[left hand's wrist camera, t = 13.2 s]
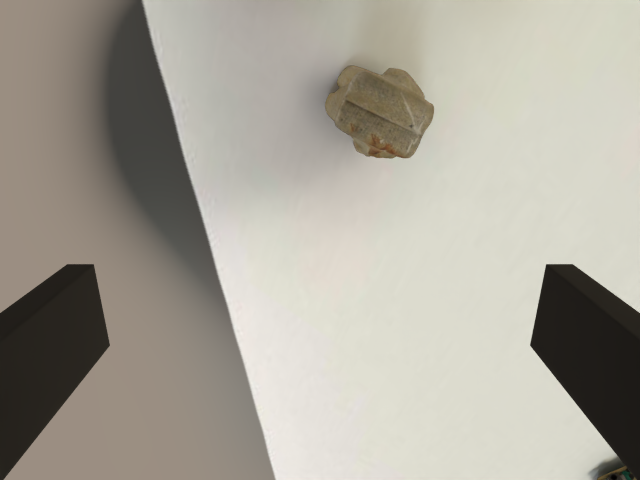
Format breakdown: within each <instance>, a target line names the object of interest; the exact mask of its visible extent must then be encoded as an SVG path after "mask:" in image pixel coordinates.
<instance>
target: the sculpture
mask: <svg viewBox="0 0 640 480" xmlns="http://www.w3.org/2000/svg"><path fill="white" fill-rule="evenodd" d="M337 84H338V86H339V89H338V90H337V91H336V92H334V93H330V94H329V96H328V98H327V100H326V103H325V108H326V112H327V114H328V115H329V116H330V117H331V118H332V119H333V120H334V121H335V125H336V126H337V127H338V128H339V129H340V130H342V131H343V132H345V133H346V134H348V135H350V136H351V137H352V138H353V142H354V146H355V149H356V151H357V152H359V153H362V154H364V155H366V156H373V157H376V158H394V157H396V156H397V157H401V158H410V157H411V156H412V155H413V154H414V153H415V151H416V149H417V147H418V145H419V143H420V140H421V138H422V136H423V134H424V132H425V130H426V129H427V128H428V126H429V125H430V123H431V121H432V119H433V114H434V107H433V104H431V103H429V102H428V101H426V100H425V99H424V94H423V92H422V91H421V89H420V88H419V86H418V85H417V84H416V82H415V81H414V80H413V78H412V77H411V76H410V75H409V74H408V73H407V72H405V71H403V70H400V69H394V68H389V69H388V70H387V71H386V72H385V73H384V74H383V75H379V74H376V73H373V72H371V71H368V70H366V69H363V68H360V67H356V66H348V67H347V68H345V69H344V70H343V72H342V73H341V74H340V76H339V77H338V81H337Z"/></svg>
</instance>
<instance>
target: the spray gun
mask: <svg viewBox="0 0 640 480" xmlns="http://www.w3.org/2000/svg"><path fill="white" fill-rule="evenodd" d="M627 469H628V468H627V467H626V466H624V467H622V468H619V469H617V470H615V471H612V472H610V473H608V474H605V475H603V476H601V477H599V478H598V479H597V480H604V479H606V478H608V479H609V480H636V478H635V477H634V476H633V474H632V473H631V472H627V471H625V470H627ZM620 472H622V475H621V474H620Z"/></svg>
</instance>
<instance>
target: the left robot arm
mask: <svg viewBox="0 0 640 480" xmlns="http://www.w3.org/2000/svg"><path fill="white" fill-rule="evenodd" d="M109 346H110V344H109V339H108V334H107V329H106V324H105V319H104V314H103V309H102V304H101V299H100V294H99V289H98V284H97V279H96V273H95V269H94V265H93V264H67V265H66V266H64V267H63V268H62V269H60V270H59V271H58V272H56V273H55V274H53V275H52V276H51V277H49V278H48V279H47V280H45V281H44V282H43V283H41V284H40V285H38V286H37V287H36V288H34V289H33V290H31V291H30V292H29V293H27V294H26V295H25V296H23V297H22V298H20V299H19V300H18V301H16V302H15V303H14V304H12V305H11V306H9V307H8V308H7V309H5V310H4V311H3V312H1V313H0V480H4V478H5V477H6V476H7V474H8V473H9V472H10V471H11V469H12V468H13V467H14V466H15V464H16V463H17V462H18V461H19V459H20V458H21V457H22V456H23V454H24V453H25V452H26V451H27V449H28V448H29V447H30V445H31V444H32V443H33V442H34V440H35V439H36V438H37V437H38V435H39V434H40V433H41V432H42V430H43V429H44V428H45V427H46V425H47V424H48V423H49V421H50V420H51V419H52V418H53V416H54V415H55V414H56V413H57V411H58V410H59V409H60V408H61V406H62V405H63V404H64V403H65V401H66V400H67V399H68V397H69V396H70V395H71V394H72V393H73V391H74V390H75V389H76V387H77V386H78V385H79V384H80V382H81V381H82V380H83V379H84V377H85V376H86V375H87V374H88V372H89V371H90V370H91V368H92V367H93V366H94V365H95V363H96V362H97V361H98V360H99V358H100V357H101V356H102V355H103V353H104V352H105V351H106V350H107V348H108V347H109ZM530 346H531V347H532V348H533V350H534V351H535V352H536V353H537V355H538V356H539V357H540V358H541V360H542V361H543V362H544V364H545V365H546V366H547V367H548V369H549V370H550V371H551V372H552V374H553V375H554V376H555V377H556V379H557V380H558V381H559V382H560V384H561V385H562V386H563V387H564V389H565V390H566V391H567V393H568V394H569V395H570V396H571V398H572V399H573V400H574V401H575V403H576V404H577V405H578V406H579V408H580V409H581V410H582V411H583V413H584V414H585V415H586V416H587V418H588V419H589V420H590V422H591V423H592V424H593V425H594V427H595V428H596V429H597V430H598V432H599V433H600V434H601V435H602V437H603V438H604V439H605V440H606V442H607V443H608V444H609V445H610V447H611V448H612V449H613V451H614V452H615V453H616V454H617V456H618V457H619V458H620V459H621V461H622V462H623V463H624V464H625V466H626V467H627V468H628V469H629V471H630V472H631V473H632V474H633V476H634V477H635V478H636V480H640V313H639V312H637V311H636V310H635V309H633V308H632V307H631V306H629V305H628V304H626V303H625V302H624V301H622V300H621V299H620V298H618V297H617V296H615V295H614V294H613V293H611V292H610V291H609V290H607V289H606V288H604V287H603V286H602V285H600V284H599V283H598V282H596V281H595V280H593V279H592V278H591V277H589V276H588V275H587V274H585V273H584V272H582V271H581V270H580V269H578V268H577V267H576V266H574V265H573V264H546V268H545V273H544V278H543V284H542V289H541V294H540V299H539V304H538V309H537V314H536V319H535V324H534V329H533V334H532V339H531V344H530Z"/></svg>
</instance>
